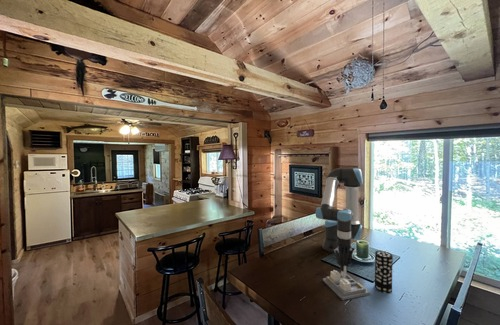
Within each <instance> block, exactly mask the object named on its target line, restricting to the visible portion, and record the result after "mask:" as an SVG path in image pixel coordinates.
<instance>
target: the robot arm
mask: <svg viewBox="0 0 500 325" xmlns="http://www.w3.org/2000/svg"><path fill="white" fill-rule="evenodd" d="M339 184H343V187H344V188H345V208H343V209H337V208H333V206H334V202H335V197H336V192H337V187H338V186H339ZM363 184H364V180H363V173H362V170H361V169H360V168H354V167H346V168H345V167H343V168H342V167H337V168H334V169H333V170H331V171H330V172H329V173H328V174H327V175H326V177H325V187H324V191H323V195H322V199H321V204H320V206H318V207H316V208H315V218H317V219H318V220H319V219H320V220H325V221H324V239H323V243H322V249H323V250H324V251H327V252H328V253H334V256H335V260H336V264H337V265H338V266H339V270H340V274H341V275H342V276H343V277H346V274H347V271H348V267H349V266H350V265H351V264H352V258H353V253H354V251H355V248H354V247H353V246H351V244H352V240H354V241H360V240H361V236H362V230H363V225H362V224H361V221H360V220H359V189H360V188H361V186H362V185H363Z"/></svg>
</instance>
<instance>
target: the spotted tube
mask: <svg viewBox="0 0 500 325" xmlns="http://www.w3.org/2000/svg"><path fill="white" fill-rule="evenodd" d="M374 253H375V254H374V288H375V290H376V291H377V292H380V293H383V294H392V293H393V261H394V260H393V254H392V253H391V252H388V251H384V250H375V251H374Z"/></svg>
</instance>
